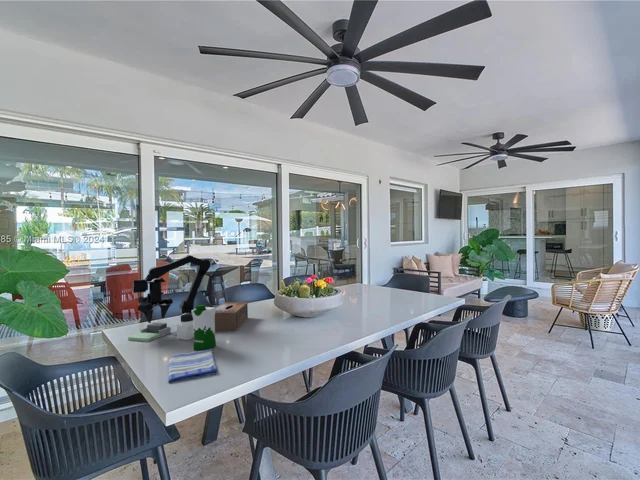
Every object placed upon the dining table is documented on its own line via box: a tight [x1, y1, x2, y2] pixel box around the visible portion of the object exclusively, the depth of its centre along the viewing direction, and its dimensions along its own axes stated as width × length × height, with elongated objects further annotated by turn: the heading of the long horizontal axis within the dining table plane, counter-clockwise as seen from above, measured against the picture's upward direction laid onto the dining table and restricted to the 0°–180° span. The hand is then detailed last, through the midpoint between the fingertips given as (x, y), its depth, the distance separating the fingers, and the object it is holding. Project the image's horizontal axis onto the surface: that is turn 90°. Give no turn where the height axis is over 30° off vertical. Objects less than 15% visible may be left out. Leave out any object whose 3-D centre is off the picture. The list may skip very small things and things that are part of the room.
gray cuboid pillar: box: [146, 322, 168, 334], centre depth 170 cm, size 8×5×5 cm, turn 75°
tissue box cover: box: [215, 301, 249, 332], centre depth 185 cm, size 26×14×10 cm, turn 178°
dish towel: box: [167, 349, 218, 384], centre depth 126 cm, size 17×24×3 cm
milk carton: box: [191, 303, 217, 351], centre depth 146 cm, size 9×9×20 cm
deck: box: [127, 326, 171, 343], centre depth 165 cm, size 12×15×3 cm
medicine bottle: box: [176, 313, 194, 341], centre depth 162 cm, size 7×7×12 cm
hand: (156, 320), depth 170 cm, fingers open, 9 cm apart
